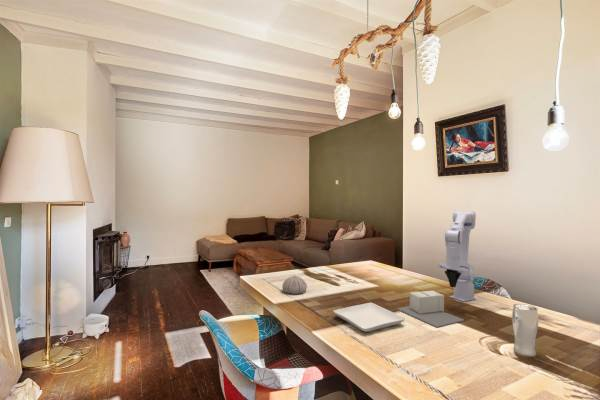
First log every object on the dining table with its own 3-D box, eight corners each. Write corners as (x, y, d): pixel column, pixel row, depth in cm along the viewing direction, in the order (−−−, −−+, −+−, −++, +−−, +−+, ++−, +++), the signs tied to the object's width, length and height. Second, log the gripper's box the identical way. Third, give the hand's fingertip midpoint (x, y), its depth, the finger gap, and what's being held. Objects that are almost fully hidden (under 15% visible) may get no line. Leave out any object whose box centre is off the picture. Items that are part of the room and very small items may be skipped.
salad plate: (364, 337, 116) (364, 328, 116) (331, 317, 135) (331, 309, 135) (406, 326, 126) (406, 318, 126) (371, 309, 144) (371, 302, 144)
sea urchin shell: (298, 286, 179) (298, 272, 179) (312, 293, 167) (312, 277, 167) (277, 290, 172) (277, 275, 172) (290, 297, 160) (290, 281, 160)
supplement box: (444, 294, 140) (419, 297, 137) (444, 311, 140) (419, 314, 137) (433, 289, 147) (409, 292, 144) (432, 305, 147) (409, 308, 144)
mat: (422, 304, 151) (422, 303, 151) (464, 320, 131) (464, 319, 131) (396, 309, 144) (396, 308, 143) (436, 327, 124) (436, 326, 124)
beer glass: (506, 347, 108) (507, 303, 108) (526, 347, 109) (526, 303, 108) (522, 358, 101) (523, 311, 101) (543, 357, 102) (544, 310, 101)
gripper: (433, 254, 148) (433, 283, 148) (461, 260, 135) (461, 292, 135) (444, 253, 151) (443, 282, 152) (472, 259, 138) (472, 290, 139)
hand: (452, 286), depth 144 cm, fingers closed
